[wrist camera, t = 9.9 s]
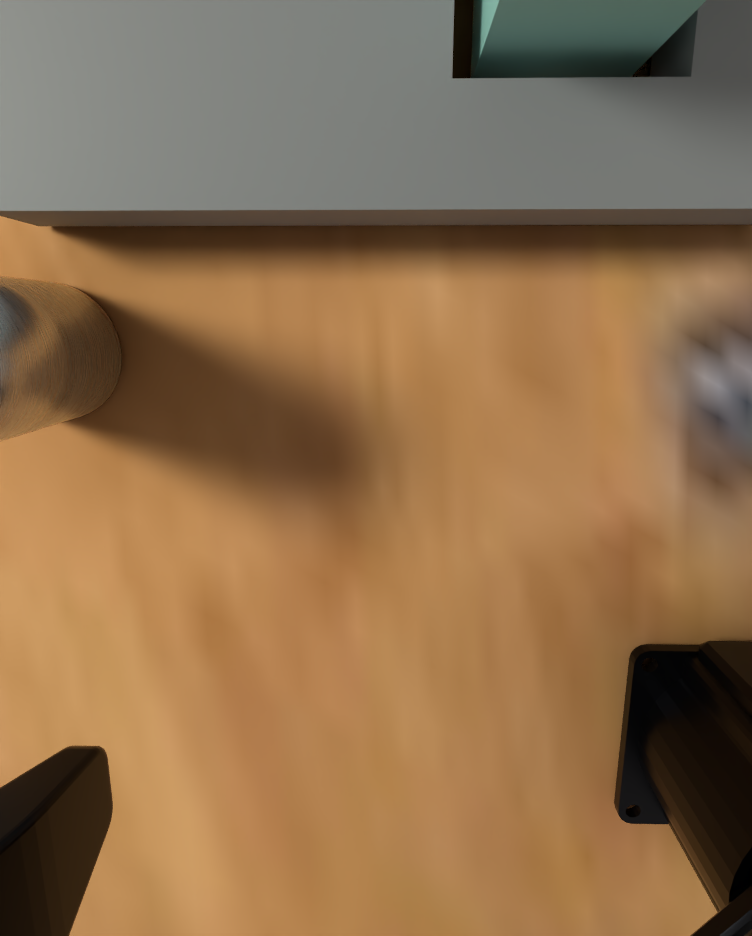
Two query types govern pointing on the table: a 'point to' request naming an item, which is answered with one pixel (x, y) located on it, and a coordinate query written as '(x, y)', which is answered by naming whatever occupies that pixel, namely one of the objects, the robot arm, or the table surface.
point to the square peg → (571, 36)
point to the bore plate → (355, 120)
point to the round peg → (52, 355)
